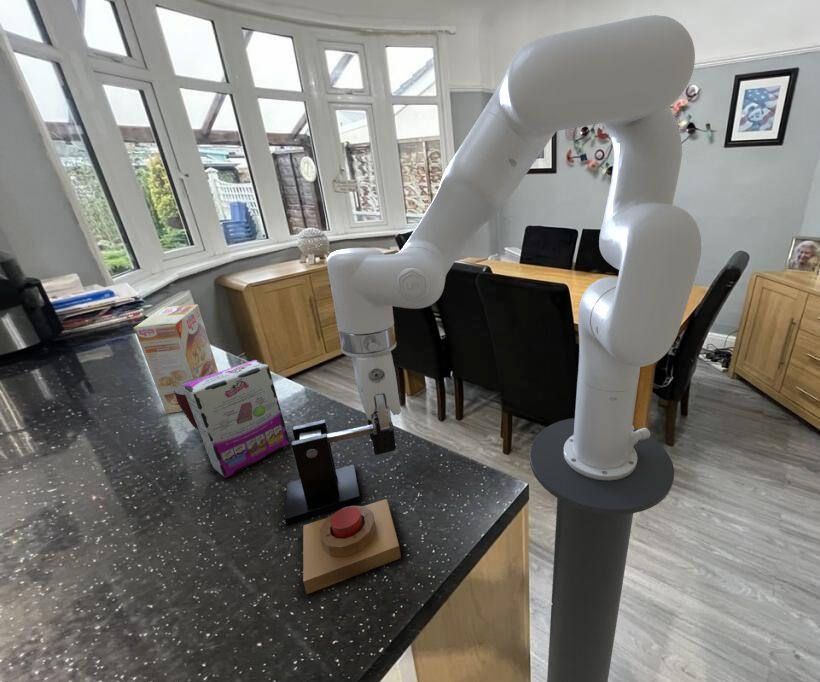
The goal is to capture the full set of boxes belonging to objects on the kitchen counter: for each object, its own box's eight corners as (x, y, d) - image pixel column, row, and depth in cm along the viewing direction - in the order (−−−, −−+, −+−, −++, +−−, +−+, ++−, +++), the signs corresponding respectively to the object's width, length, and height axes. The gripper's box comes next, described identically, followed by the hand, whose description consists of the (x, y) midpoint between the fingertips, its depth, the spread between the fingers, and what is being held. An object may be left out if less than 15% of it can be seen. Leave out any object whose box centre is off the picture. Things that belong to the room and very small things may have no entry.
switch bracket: (355, 470, 66) (343, 410, 62) (360, 502, 60) (348, 437, 55) (288, 488, 62) (271, 426, 58) (286, 525, 56) (267, 457, 51)
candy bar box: (276, 435, 75) (255, 358, 69) (291, 444, 73) (270, 364, 67) (210, 468, 67) (179, 383, 61) (224, 479, 64) (193, 391, 58)
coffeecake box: (205, 408, 85) (176, 323, 77) (164, 415, 82) (130, 327, 75) (222, 378, 98) (199, 303, 90) (187, 383, 95) (160, 306, 88)
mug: (211, 413, 83) (197, 370, 79) (252, 409, 84) (240, 367, 80) (181, 443, 73) (163, 396, 69) (228, 439, 74) (213, 393, 71)
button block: (388, 510, 58) (385, 488, 57) (400, 558, 51) (397, 535, 49) (306, 537, 54) (300, 515, 52) (306, 594, 46) (299, 570, 45)
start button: (360, 512, 53) (359, 502, 53) (364, 532, 50) (362, 522, 50) (332, 522, 52) (329, 512, 51) (334, 543, 49) (331, 532, 48)
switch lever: (391, 428, 64) (390, 411, 63) (395, 438, 62) (394, 421, 60) (302, 447, 59) (299, 429, 57) (302, 459, 56) (298, 441, 55)
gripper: (407, 354, 51) (419, 468, 57) (385, 317, 64) (396, 413, 71) (345, 364, 47) (365, 484, 54) (335, 323, 61) (352, 423, 68)
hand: (382, 443), depth 63 cm, fingers closed on switch lever, 3 cm apart
